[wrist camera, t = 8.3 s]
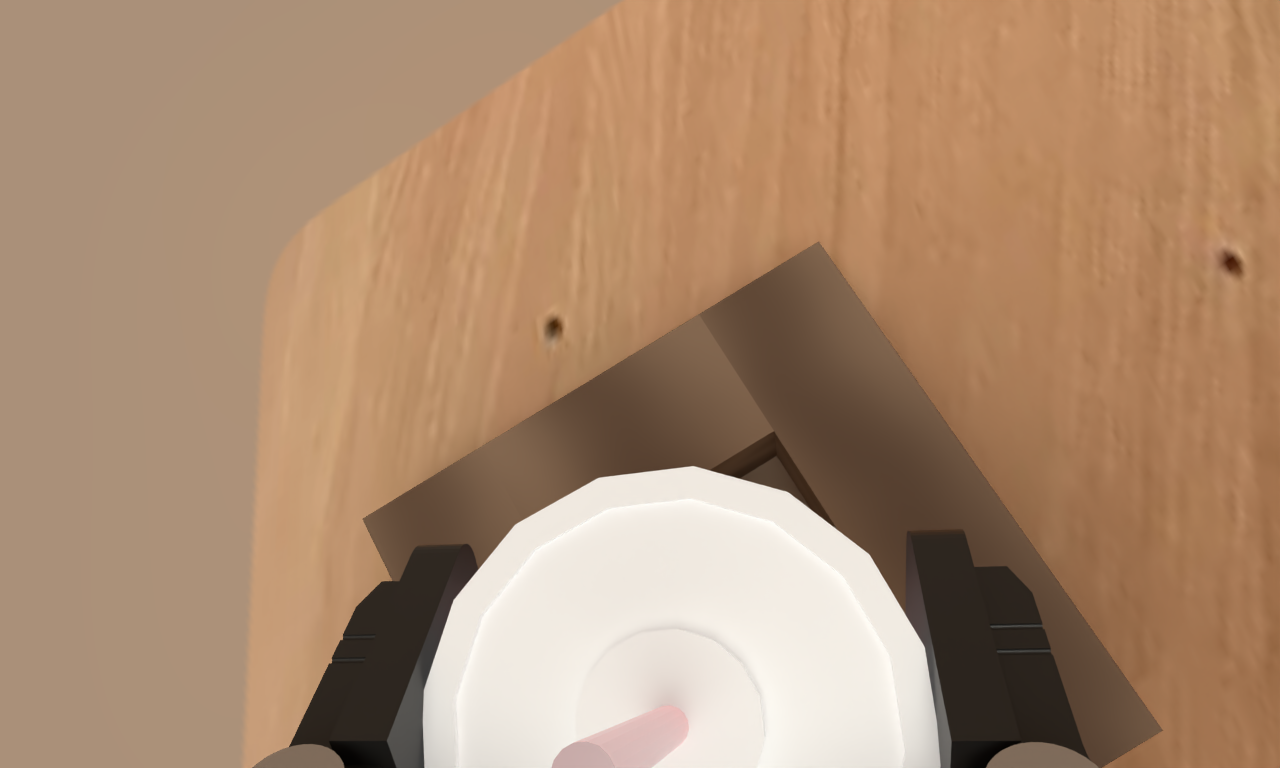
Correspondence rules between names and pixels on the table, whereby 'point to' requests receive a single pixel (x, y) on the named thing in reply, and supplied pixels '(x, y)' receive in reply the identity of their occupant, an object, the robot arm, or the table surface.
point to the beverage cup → (678, 639)
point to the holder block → (774, 458)
